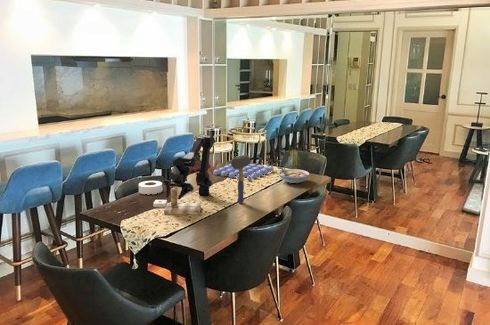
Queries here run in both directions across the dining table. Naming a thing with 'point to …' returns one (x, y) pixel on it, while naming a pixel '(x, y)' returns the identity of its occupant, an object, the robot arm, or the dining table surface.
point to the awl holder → (160, 203)
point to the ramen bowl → (293, 175)
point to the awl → (174, 198)
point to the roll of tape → (150, 187)
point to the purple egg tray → (250, 171)
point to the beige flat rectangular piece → (183, 208)
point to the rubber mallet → (240, 173)
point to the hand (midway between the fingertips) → (172, 198)
